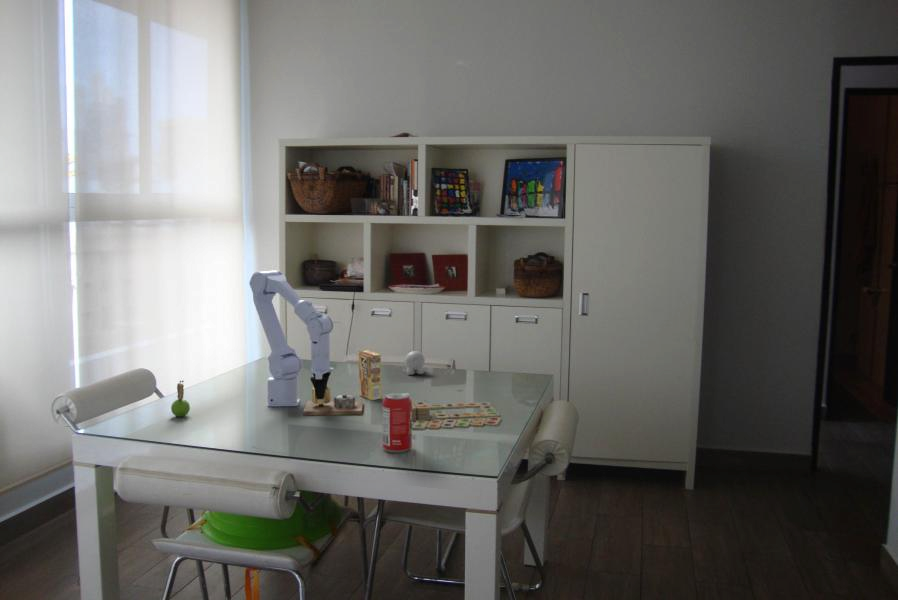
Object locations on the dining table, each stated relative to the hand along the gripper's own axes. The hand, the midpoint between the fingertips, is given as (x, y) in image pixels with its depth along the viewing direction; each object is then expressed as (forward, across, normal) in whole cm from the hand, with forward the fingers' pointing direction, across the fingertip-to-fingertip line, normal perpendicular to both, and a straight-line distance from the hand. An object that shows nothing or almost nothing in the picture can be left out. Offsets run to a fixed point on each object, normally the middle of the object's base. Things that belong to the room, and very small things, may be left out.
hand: (321, 396), depth 264 cm
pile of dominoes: (+5, -10, -39) cm, 40 cm away
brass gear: (+2, 0, 0) cm, 2 cm away
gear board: (+4, 0, -4) cm, 6 cm away
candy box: (+4, +16, -15) cm, 22 cm away
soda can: (+4, -43, -24) cm, 49 cm away
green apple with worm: (+4, -7, +42) cm, 43 cm away
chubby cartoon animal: (+4, +55, -31) cm, 63 cm away
